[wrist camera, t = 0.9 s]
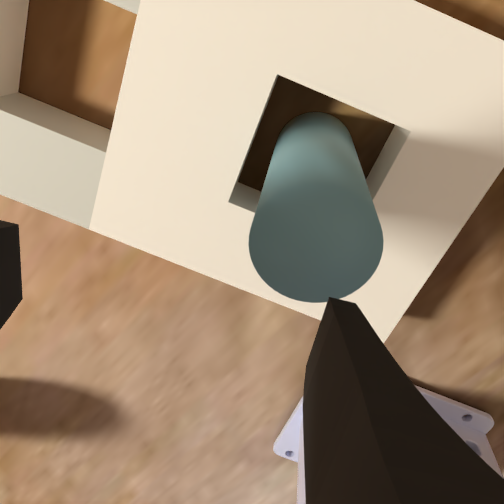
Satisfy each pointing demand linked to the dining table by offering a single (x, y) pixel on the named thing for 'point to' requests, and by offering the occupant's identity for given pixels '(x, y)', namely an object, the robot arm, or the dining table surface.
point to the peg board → (246, 125)
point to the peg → (315, 214)
